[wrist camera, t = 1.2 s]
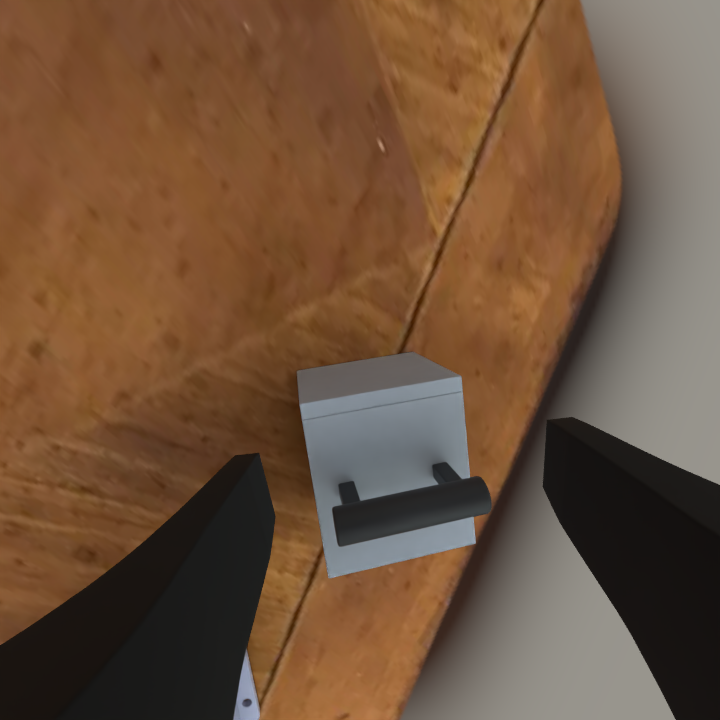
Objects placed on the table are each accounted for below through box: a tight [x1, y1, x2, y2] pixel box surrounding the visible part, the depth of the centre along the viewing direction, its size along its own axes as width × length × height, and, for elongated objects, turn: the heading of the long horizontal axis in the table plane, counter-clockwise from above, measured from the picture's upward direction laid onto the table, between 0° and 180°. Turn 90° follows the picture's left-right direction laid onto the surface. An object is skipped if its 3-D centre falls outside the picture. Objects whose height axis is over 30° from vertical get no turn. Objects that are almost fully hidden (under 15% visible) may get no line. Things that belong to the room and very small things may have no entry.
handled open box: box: [297, 352, 491, 578], centre depth 17 cm, size 7×6×9 cm
